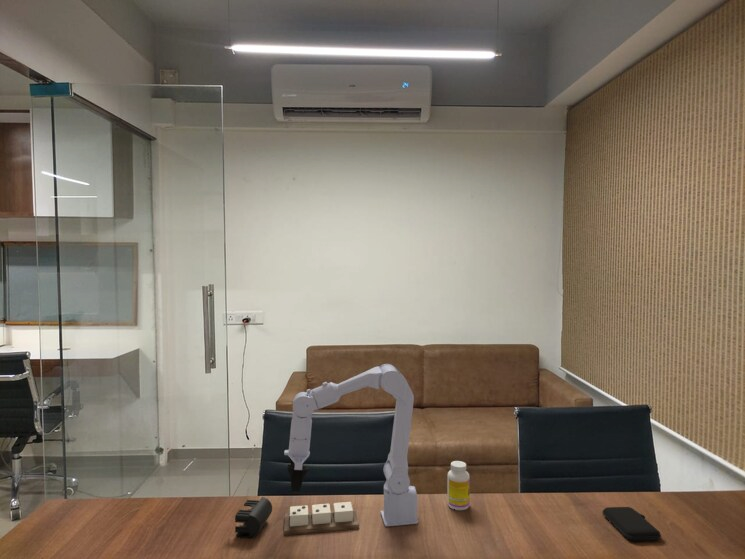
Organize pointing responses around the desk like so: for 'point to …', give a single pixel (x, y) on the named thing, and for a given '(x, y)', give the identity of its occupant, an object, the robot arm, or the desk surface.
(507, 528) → the desk surface
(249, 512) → the end cap
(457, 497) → the supplement bottle
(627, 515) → the black rounded phone case
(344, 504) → the tile one
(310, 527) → the tile tray
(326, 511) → the tile two
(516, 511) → the desk surface
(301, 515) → the tile three
